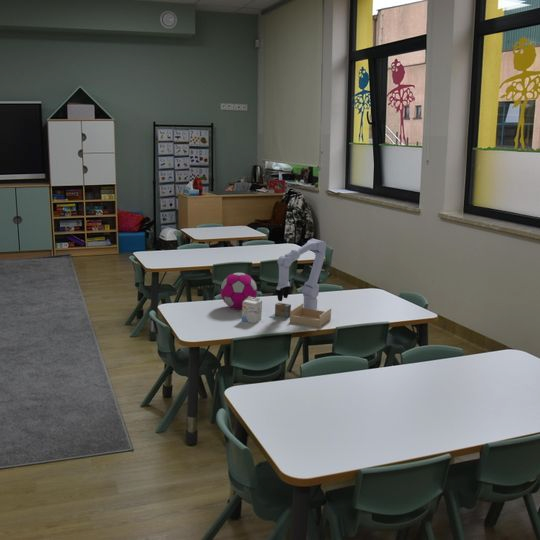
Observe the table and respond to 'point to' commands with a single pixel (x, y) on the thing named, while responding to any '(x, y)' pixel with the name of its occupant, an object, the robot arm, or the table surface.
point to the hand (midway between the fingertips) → (282, 299)
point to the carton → (309, 316)
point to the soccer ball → (238, 289)
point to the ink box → (252, 310)
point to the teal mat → (278, 317)
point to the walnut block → (282, 310)
